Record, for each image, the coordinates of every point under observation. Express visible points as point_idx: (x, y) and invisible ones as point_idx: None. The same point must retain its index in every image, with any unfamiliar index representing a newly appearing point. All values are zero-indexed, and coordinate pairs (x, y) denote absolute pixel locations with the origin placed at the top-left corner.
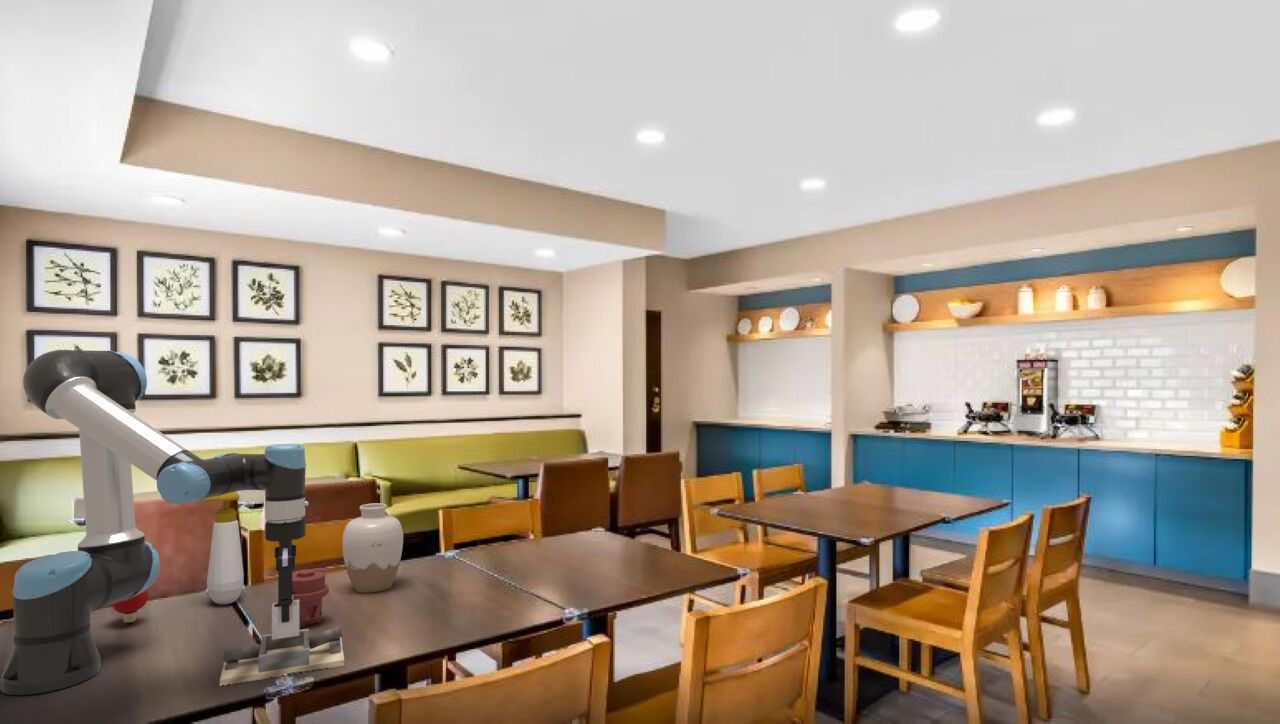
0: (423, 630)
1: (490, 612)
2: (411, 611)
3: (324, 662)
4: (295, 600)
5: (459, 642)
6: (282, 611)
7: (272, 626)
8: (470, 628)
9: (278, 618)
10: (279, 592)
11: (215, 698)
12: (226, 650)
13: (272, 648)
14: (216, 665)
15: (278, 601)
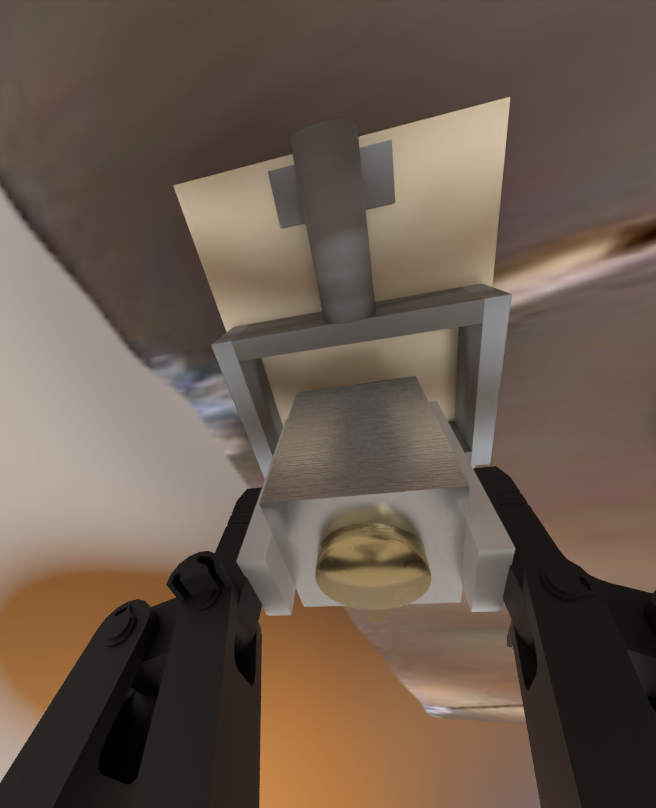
0: (456, 603)
1: (495, 666)
2: None
3: None
4: (444, 590)
5: (361, 629)
6: (217, 553)
7: (286, 429)
8: (425, 644)
9: (262, 489)
10: (6, 789)
11: (87, 210)
12: (314, 143)
13: (460, 328)
14: (435, 70)
15: (84, 652)
